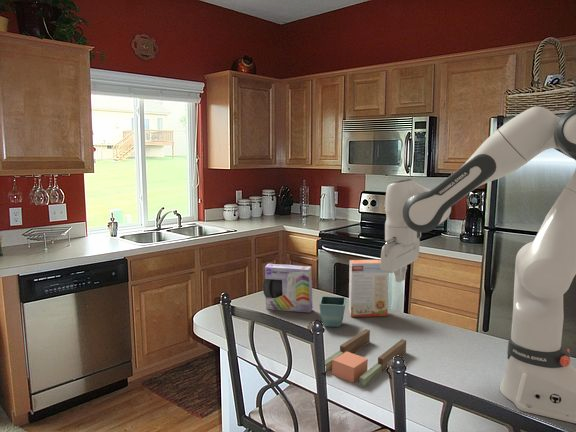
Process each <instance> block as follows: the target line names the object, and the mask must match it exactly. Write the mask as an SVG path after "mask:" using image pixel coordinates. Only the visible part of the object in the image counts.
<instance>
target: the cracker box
mask: <svg viewBox="0 0 576 432" xmlns="http://www.w3.org/2000/svg"><path fill="white" fill-rule="evenodd" d="M380 262H381V259H349V263H348V264H349V266H348V267H349V269H348V270H349V272H348V275H349V276H348V279H349V281H348V282H349V283H348V313H349V315H350V316H351V318H353V317H354V318H357V317H359V318H362V317H365V318H366V317H388V311H389V310H388V307H389V306H388V305H389V275H390V273H386V272H382V271H381V268H380Z"/></svg>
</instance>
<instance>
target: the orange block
mask: <svg viewBox="0 0 576 432" xmlns="http://www.w3.org/2000/svg"><path fill="white" fill-rule="evenodd" d="M368 361H369V360H368V358H366V357H364V356H361V355H359V354H356V353H350V352H345V353H343V354H341V355H340V356H338V357H336V358H335V359H333V362H332V368H331V375H333V376H335V377H338V378H340V379H343V380H345V381H348V382H350V383H356V382H357V381H359V377H360V376H362V375H363V374H364V373H365V372H367V371H368V366H369V365H368Z"/></svg>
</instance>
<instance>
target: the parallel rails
mask: <svg viewBox="0 0 576 432" xmlns="http://www.w3.org/2000/svg"><path fill="white" fill-rule="evenodd" d="M370 336H371V330H370V329H367V328H366V329H363V330H362V331H360V332H359V333H357V334H356V335H354V336H353V337H352V338H351V337H350V339H348V340H347V341H345V342H343V343H342V344H340V345H339V350H338V351H337V352H335V353H333V354H332V355H330V356H329V357H328V358H326V359H324V360H325V366H326V373H327V372H329V371H330V370H332V362H333V359H335V358H336V357H338V356H340V355H341V354H343V353H345V352H350V353H353V354H355V352H358V351H359V350H361V349H362V348H363V347H365V346H366V345H367V344H369V343H370V338H371V337H370ZM406 352H407V340H406V339H403V338H402V339H400V340H399V341H398V342H396V343H394V345H392V346H391V347H390V348H388V349H387V350H386V351H384V352H383V353H382V354H381V355H380V356H378V357H377V363H376V364H375V365H373V366H372V367H370V368H369V369H367V372H365V373H364V374H363V375H362V376H360V377H359V379H358V381H359V384H358V386H359V387H361V388H363V389H364V388H366V387H367V386H369V385H370V384H371V383H372V382H373V381H374V380H376V378H378V377H379V376H381V374H382V373H384V372H385V371H386V370H387V369H388V368H387V362H388V361H389V360H391V359H393V357H394V356H397V355H399V356H401V357H403V356H404V355H405V354H406ZM386 368H387V369H386Z"/></svg>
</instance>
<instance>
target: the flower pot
mask: <svg viewBox="0 0 576 432" xmlns="http://www.w3.org/2000/svg"><path fill="white" fill-rule="evenodd" d="M346 300H347V299H346V297H344V296H325V295H322V296H321V299H320V302H319V312H320V318H321V321H322V323H323V325H324V326H325V327H334V328H335V327H336V328H339V327H341V325H342V324H343V321H344V314H345V309H346Z"/></svg>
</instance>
